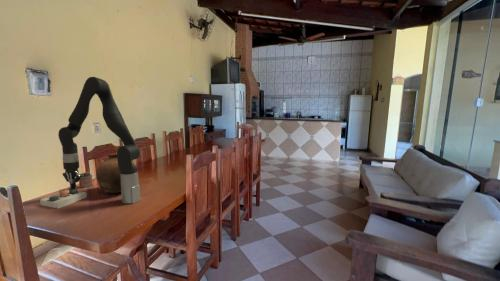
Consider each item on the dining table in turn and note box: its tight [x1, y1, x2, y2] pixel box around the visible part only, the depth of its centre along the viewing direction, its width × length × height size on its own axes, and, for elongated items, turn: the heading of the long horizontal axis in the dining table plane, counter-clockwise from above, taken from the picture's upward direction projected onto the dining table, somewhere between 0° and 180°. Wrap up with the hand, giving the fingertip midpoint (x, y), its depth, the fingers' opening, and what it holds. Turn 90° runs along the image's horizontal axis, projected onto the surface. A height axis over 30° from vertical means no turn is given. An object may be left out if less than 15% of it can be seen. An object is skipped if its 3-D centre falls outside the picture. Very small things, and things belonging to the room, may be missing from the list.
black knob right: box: [68, 187, 79, 195], centre depth 144 cm, size 4×4×3 cm
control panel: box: [39, 189, 88, 209], centre depth 139 cm, size 13×16×3 cm
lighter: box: [78, 171, 94, 190], centre depth 162 cm, size 8×3×10 cm, turn 149°
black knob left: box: [49, 195, 59, 202], centre depth 134 cm, size 4×4×3 cm
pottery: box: [95, 153, 136, 194], centre depth 155 cm, size 23×23×25 cm
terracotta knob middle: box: [58, 188, 69, 197], centre depth 138 cm, size 4×4×3 cm
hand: (73, 188), depth 144 cm, fingers closed
